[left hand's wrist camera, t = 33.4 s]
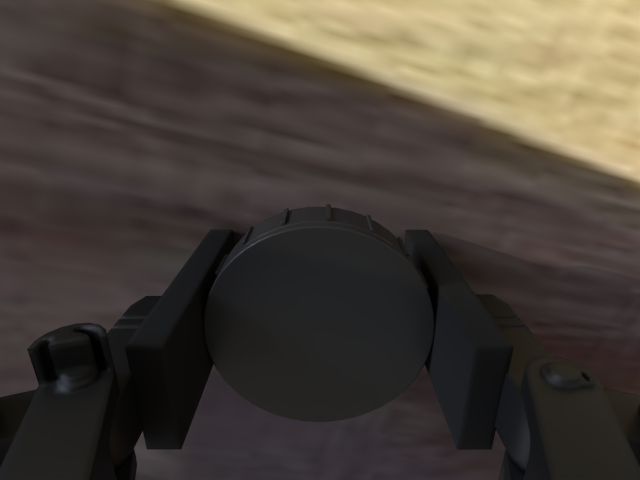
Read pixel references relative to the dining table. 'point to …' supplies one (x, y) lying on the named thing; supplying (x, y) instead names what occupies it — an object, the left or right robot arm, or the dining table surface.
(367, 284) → the lid
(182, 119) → the dining table surface
